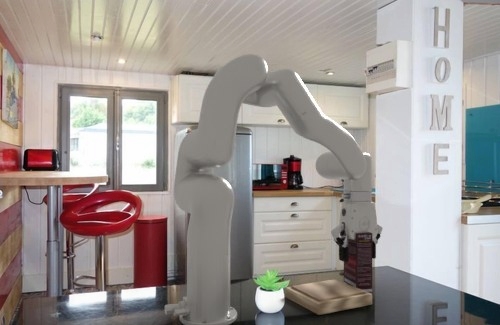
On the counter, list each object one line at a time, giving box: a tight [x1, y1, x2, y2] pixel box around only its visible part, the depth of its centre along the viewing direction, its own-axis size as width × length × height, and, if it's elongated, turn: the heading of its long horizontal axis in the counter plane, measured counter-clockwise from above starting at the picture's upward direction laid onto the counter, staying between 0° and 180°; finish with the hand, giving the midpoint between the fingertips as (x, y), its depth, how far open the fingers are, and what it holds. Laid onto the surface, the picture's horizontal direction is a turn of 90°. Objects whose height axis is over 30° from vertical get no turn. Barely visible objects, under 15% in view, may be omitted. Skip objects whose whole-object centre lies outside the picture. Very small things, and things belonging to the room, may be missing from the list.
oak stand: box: [285, 279, 373, 315], centre depth 102 cm, size 16×14×3 cm
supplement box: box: [343, 232, 373, 293], centre depth 112 cm, size 9×5×16 cm, turn 12°
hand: (357, 259), depth 112 cm, fingers open, 9 cm apart
